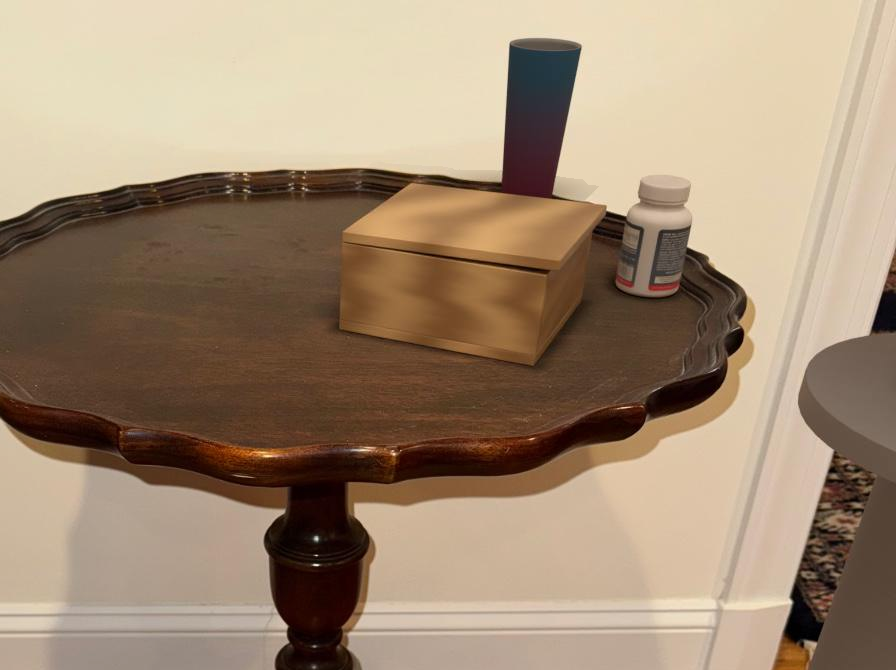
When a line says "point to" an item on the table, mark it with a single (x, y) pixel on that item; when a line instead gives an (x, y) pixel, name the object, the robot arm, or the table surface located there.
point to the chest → (458, 300)
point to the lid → (479, 225)
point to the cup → (537, 112)
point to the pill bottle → (655, 238)
